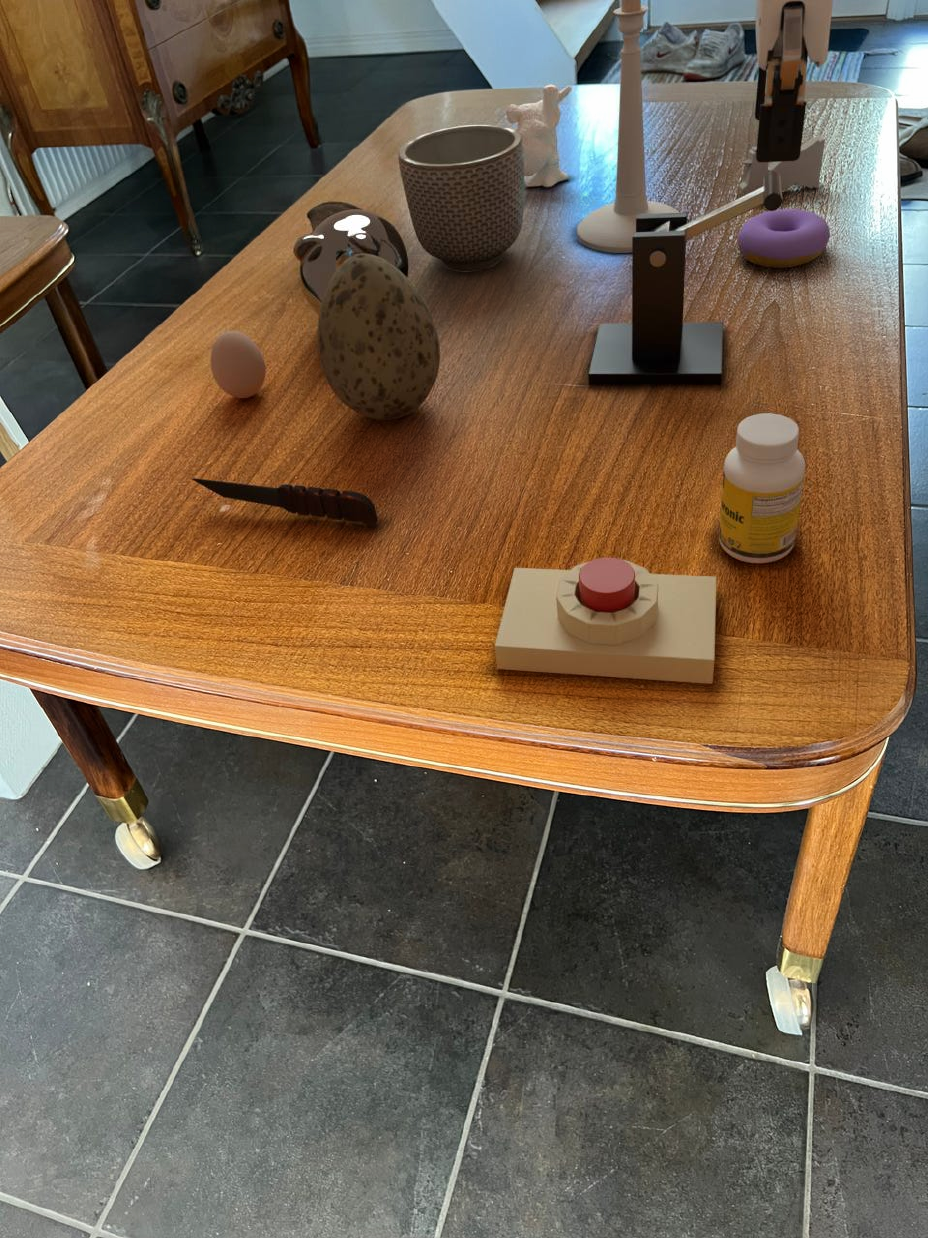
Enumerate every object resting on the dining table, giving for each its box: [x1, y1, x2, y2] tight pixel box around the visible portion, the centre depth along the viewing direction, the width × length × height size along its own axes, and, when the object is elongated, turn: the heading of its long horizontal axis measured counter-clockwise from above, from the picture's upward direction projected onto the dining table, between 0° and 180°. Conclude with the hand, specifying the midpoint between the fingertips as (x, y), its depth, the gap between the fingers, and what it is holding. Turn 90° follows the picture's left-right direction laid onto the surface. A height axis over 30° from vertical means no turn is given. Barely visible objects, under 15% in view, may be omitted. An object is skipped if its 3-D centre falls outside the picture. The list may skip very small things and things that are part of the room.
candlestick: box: [576, 0, 680, 254], centre depth 104 cm, size 13×13×30 cm
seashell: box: [306, 201, 363, 231], centre depth 116 cm, size 16×9×7 cm, turn 176°
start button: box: [579, 556, 635, 613], centre depth 62 cm, size 4×4×2 cm
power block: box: [494, 559, 718, 685], centre depth 64 cm, size 14×8×4 cm, turn 78°
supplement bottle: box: [718, 412, 806, 564], centre depth 67 cm, size 5×5×10 cm
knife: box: [191, 477, 379, 529], centre depth 79 cm, size 17×1×3 cm, turn 71°
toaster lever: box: [648, 171, 783, 242], centre depth 82 cm, size 12×5×2 cm, turn 79°
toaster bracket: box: [588, 212, 724, 386], centre depth 87 cm, size 12×10×13 cm
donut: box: [736, 208, 831, 269], centre depth 104 cm, size 10×9×5 cm
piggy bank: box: [292, 208, 409, 316], centre depth 100 cm, size 11×15×12 cm
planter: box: [398, 123, 525, 273], centre depth 109 cm, size 14×14×13 cm
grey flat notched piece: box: [738, 136, 826, 196], centre depth 115 cm, size 6×1×10 cm
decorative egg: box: [317, 254, 441, 421], centre depth 85 cm, size 11×11×15 cm
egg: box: [210, 330, 267, 399], centre depth 93 cm, size 5×5×7 cm
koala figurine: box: [506, 83, 573, 188], centre depth 125 cm, size 8×7×12 cm
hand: (775, 138), depth 77 cm, fingers open, 9 cm apart
